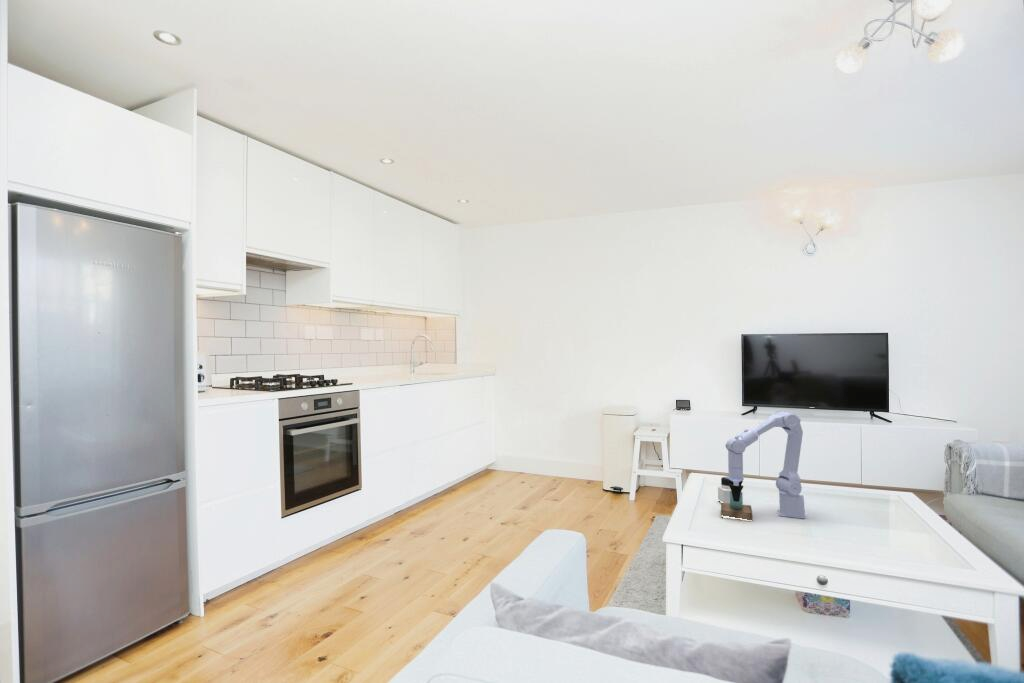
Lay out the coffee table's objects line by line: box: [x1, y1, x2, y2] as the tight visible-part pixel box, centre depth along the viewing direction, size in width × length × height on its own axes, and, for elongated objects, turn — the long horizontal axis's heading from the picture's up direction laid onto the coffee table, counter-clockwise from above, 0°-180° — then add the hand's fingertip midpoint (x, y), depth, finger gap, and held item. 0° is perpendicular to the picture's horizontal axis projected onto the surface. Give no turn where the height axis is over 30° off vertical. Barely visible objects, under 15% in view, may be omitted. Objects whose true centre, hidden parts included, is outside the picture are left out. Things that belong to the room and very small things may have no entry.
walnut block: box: [720, 503, 753, 521], centre depth 220 cm, size 12×12×4 cm
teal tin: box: [730, 491, 744, 509], centre depth 220 cm, size 5×5×6 cm
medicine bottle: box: [717, 476, 731, 503], centre depth 239 cm, size 7×7×12 cm
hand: (736, 499), depth 220 cm, fingers open, 7 cm apart
